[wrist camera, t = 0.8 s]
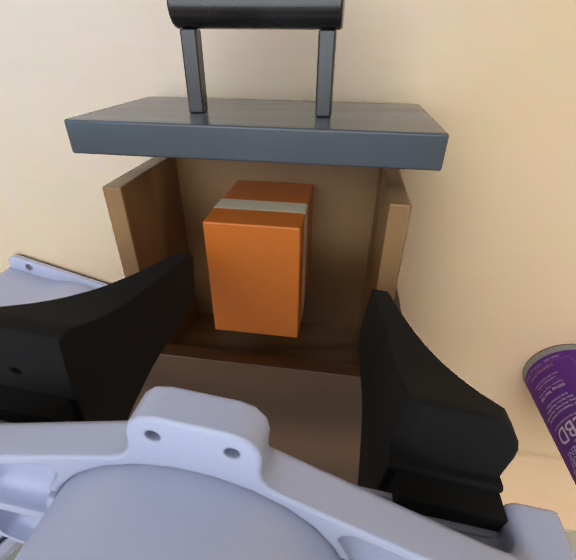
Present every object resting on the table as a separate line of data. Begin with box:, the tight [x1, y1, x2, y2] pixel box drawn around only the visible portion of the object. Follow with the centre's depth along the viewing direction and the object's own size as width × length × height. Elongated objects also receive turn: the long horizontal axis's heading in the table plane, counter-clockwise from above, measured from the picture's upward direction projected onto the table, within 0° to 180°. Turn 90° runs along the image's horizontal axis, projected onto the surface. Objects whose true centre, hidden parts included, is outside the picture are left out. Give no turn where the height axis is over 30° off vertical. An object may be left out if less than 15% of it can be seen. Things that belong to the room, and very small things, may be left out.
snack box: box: [203, 180, 313, 338], centre depth 19 cm, size 6×4×6 cm
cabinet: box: [128, 286, 401, 486], centre depth 25 cm, size 15×15×9 cm
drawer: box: [64, 0, 449, 365], centre depth 18 cm, size 18×13×7 cm
